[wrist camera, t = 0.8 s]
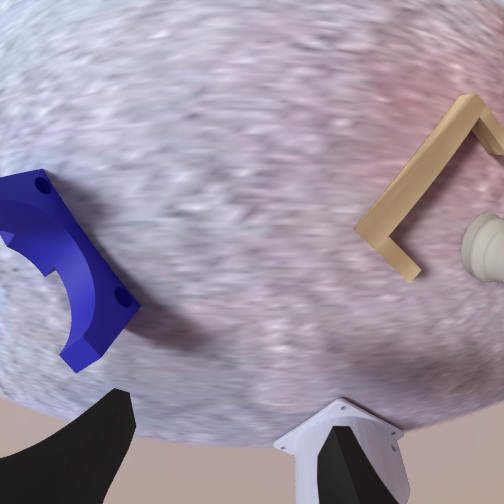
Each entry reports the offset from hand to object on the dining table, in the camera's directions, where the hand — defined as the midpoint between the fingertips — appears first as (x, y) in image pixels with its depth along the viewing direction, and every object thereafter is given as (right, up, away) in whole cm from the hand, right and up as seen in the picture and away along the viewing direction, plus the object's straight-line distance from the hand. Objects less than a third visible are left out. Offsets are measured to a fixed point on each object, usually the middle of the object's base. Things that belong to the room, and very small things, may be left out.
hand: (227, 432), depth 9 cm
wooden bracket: (+11, +10, +6) cm, 17 cm away
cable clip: (-12, +6, +10) cm, 17 cm away
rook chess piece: (+16, +7, +7) cm, 19 cm away
